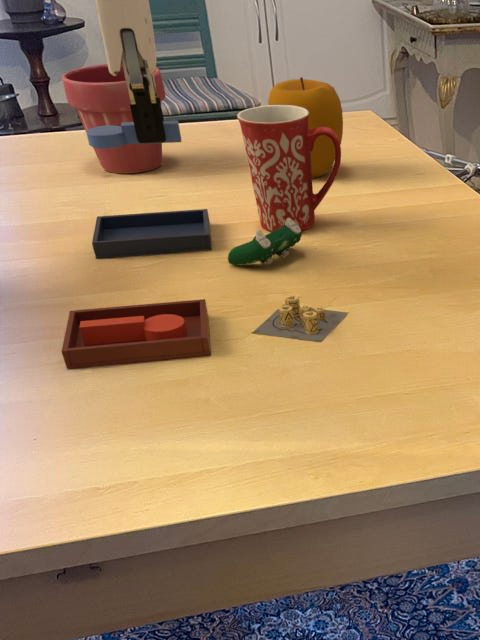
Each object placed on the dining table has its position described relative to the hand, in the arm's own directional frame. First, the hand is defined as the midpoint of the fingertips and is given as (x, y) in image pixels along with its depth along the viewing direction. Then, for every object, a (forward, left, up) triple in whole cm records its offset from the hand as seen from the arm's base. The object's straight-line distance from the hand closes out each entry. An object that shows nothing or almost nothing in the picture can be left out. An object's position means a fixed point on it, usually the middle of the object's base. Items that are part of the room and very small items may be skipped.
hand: (152, 138), depth 110 cm
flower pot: (-7, +40, -13) cm, 43 cm away
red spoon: (-4, -26, -13) cm, 29 cm away
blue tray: (-3, +5, -13) cm, 14 cm away
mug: (+16, +7, -13) cm, 22 cm away
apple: (+20, +30, -13) cm, 39 cm away
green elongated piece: (+11, -5, -13) cm, 18 cm away
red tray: (-4, -26, -13) cm, 29 cm away
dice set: (+13, -25, -13) cm, 31 cm away
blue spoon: (-2, 0, 0) cm, 2 cm away
